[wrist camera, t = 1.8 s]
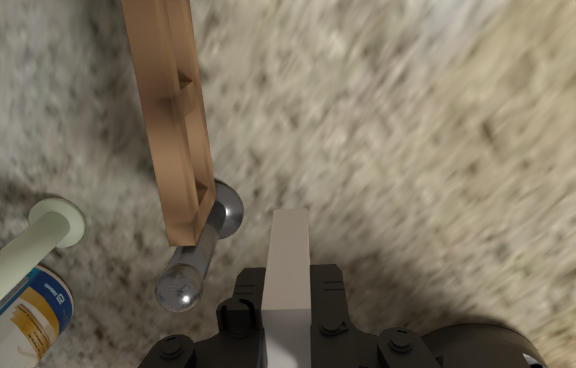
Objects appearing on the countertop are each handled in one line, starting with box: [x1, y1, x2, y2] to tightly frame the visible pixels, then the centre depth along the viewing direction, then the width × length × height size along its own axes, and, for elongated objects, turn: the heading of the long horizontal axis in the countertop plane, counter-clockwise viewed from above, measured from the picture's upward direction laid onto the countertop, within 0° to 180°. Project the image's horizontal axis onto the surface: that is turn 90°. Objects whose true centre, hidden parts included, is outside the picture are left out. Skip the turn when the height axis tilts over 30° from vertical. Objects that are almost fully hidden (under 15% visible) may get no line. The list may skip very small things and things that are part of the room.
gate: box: [121, 0, 217, 246], centre depth 25 cm, size 16×2×7 cm, turn 3°
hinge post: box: [155, 181, 244, 312], centre depth 29 cm, size 5×5×12 cm
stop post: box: [0, 197, 86, 300], centre depth 30 cm, size 4×4×10 cm
